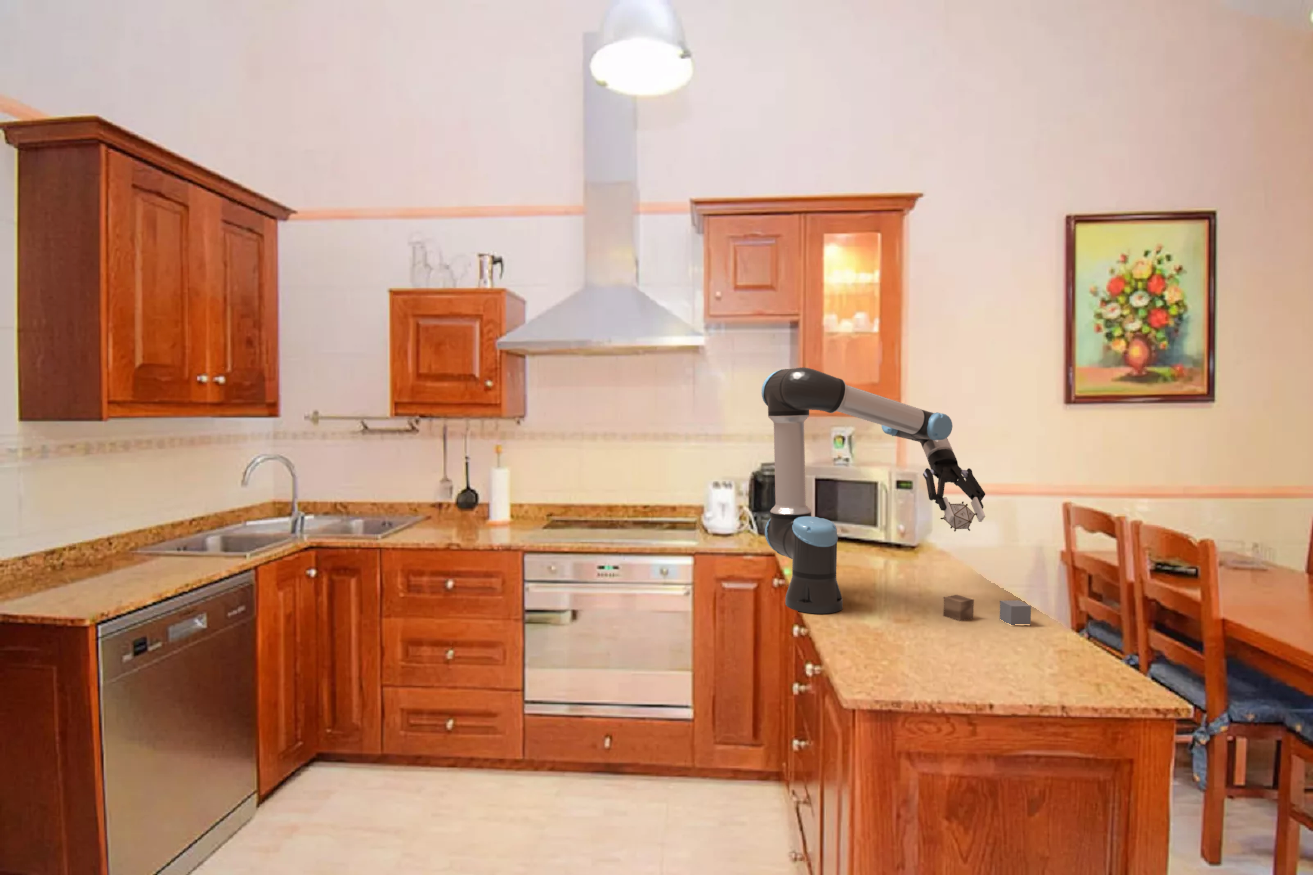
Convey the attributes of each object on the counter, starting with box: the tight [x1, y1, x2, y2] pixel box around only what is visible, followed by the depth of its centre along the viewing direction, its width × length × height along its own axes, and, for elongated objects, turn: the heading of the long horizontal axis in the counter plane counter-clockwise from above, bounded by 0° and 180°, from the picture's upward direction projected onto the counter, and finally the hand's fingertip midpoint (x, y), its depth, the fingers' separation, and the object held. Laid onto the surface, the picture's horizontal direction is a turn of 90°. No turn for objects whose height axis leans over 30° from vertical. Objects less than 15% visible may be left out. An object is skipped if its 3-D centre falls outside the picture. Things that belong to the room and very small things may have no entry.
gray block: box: [999, 599, 1032, 625], centre depth 170 cm, size 5×5×5 cm
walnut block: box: [942, 594, 975, 622], centre depth 175 cm, size 5×5×5 cm
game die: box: [939, 501, 977, 533], centre depth 188 cm, size 9×8×10 cm
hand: (966, 518), depth 185 cm, fingers closed on game die, 8 cm apart
